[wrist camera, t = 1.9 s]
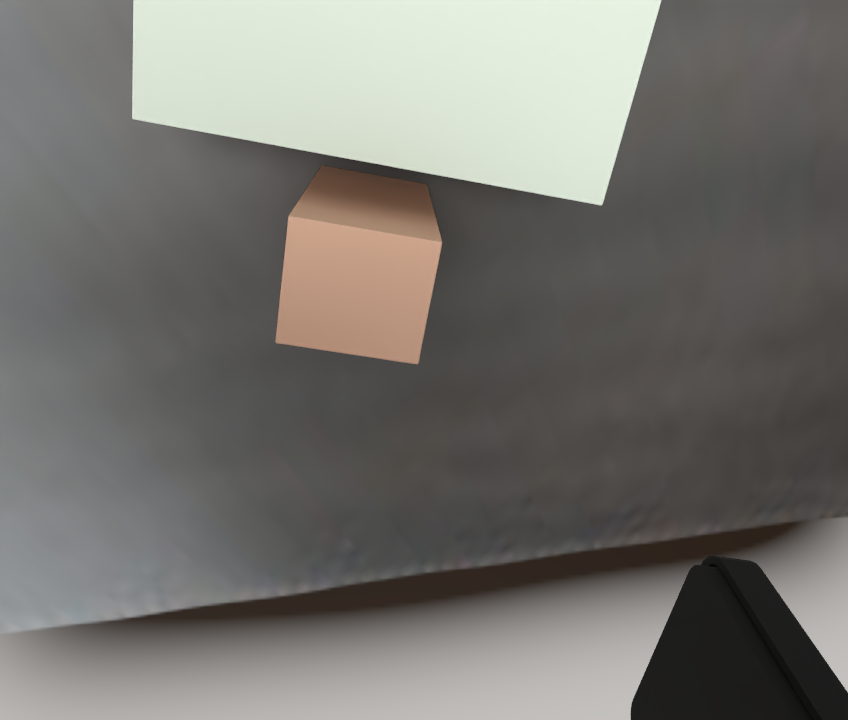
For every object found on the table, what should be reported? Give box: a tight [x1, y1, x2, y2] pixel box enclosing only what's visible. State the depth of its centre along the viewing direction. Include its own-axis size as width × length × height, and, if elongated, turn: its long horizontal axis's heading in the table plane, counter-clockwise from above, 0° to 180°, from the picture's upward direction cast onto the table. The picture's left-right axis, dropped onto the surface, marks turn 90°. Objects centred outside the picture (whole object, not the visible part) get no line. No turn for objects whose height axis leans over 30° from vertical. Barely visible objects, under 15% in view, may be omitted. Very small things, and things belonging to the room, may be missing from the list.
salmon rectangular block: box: [275, 165, 442, 364], centre depth 25 cm, size 4×4×10 cm
